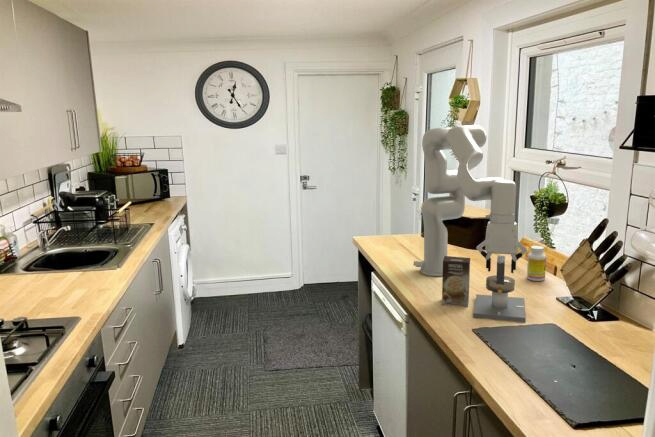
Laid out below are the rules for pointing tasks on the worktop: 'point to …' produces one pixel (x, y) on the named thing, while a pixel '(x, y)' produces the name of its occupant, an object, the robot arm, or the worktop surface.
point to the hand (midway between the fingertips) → (500, 270)
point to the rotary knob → (500, 279)
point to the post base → (505, 312)
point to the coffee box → (456, 281)
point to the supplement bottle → (536, 264)
